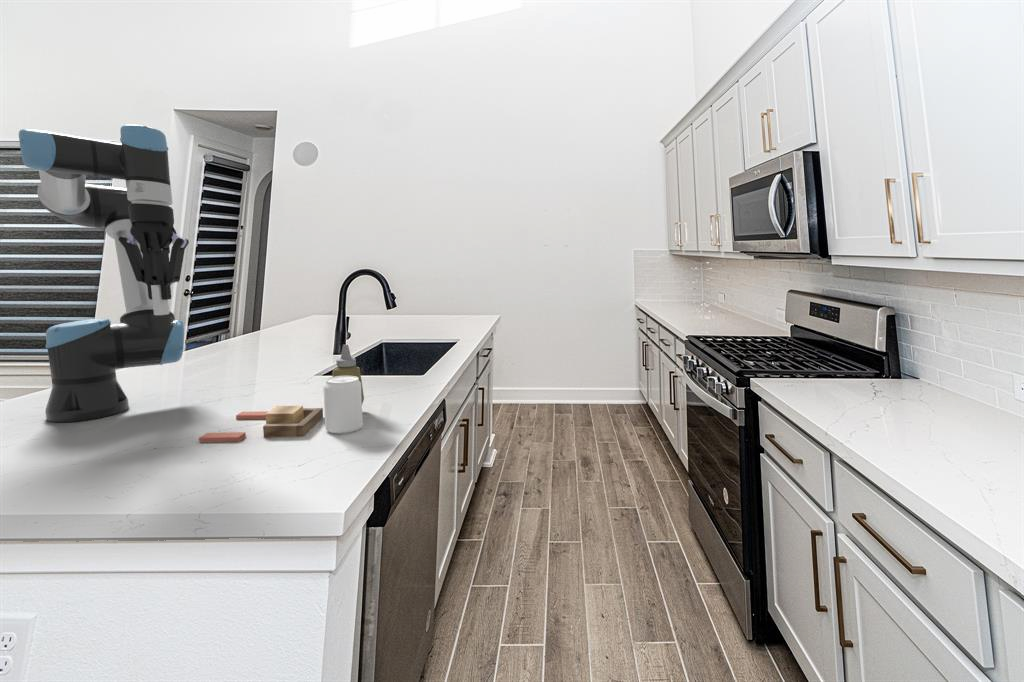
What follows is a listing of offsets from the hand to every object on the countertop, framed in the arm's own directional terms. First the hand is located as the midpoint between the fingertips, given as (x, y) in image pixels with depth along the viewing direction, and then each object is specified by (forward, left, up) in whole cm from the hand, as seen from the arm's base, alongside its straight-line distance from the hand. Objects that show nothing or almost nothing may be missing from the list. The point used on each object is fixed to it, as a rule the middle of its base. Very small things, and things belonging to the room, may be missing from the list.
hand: (161, 314), depth 99 cm
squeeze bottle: (+27, +27, -27) cm, 46 cm away
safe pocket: (+24, +14, -26) cm, 38 cm away
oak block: (+22, +12, -27) cm, 37 cm away
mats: (+13, +7, -26) cm, 30 cm away
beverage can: (+35, +18, -27) cm, 47 cm away
